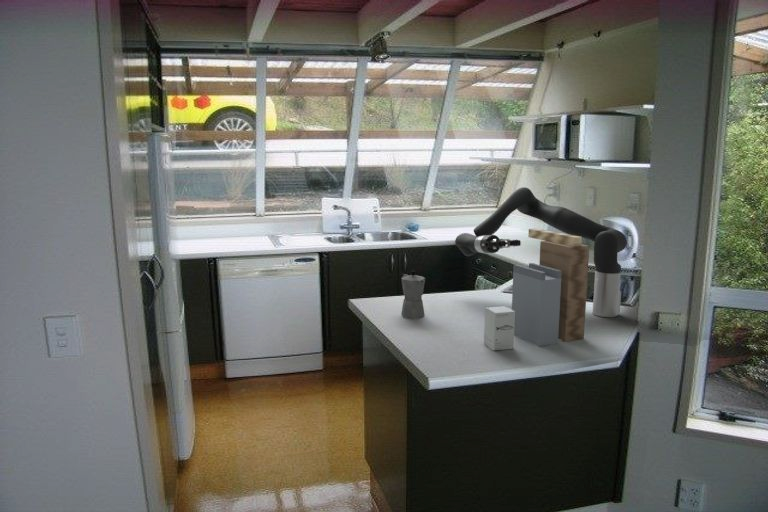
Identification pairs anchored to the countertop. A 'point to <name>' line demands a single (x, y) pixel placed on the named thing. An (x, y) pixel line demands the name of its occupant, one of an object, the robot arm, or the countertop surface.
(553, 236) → the birch bar
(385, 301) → the countertop surface
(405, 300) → the coffeepot
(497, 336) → the supplement box
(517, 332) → the slate grooved rack
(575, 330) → the walnut pedestal
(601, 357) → the countertop surface
